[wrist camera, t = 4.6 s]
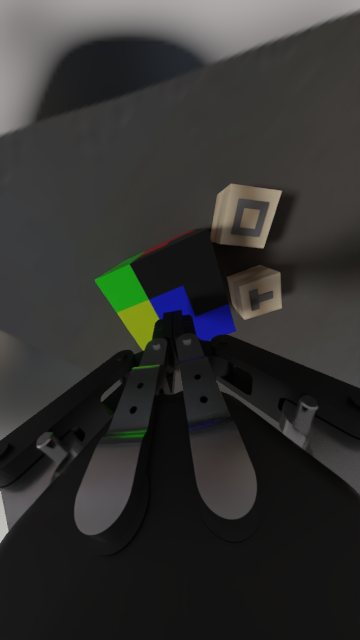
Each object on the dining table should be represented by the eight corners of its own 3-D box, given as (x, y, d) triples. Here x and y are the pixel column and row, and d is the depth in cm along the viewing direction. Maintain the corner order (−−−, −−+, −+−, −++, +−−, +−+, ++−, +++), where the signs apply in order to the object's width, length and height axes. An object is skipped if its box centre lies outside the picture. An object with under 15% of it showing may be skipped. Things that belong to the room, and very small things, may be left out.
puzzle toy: (213, 296, 25) (236, 331, 17) (156, 318, 27) (149, 361, 18) (192, 229, 21) (208, 228, 12) (124, 260, 22) (94, 280, 13)
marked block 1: (257, 199, 19) (283, 190, 15) (245, 244, 22) (264, 248, 17) (217, 194, 19) (232, 183, 14) (209, 241, 21) (220, 244, 17)
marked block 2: (259, 264, 23) (281, 272, 19) (262, 295, 26) (282, 308, 21) (226, 276, 24) (239, 287, 19) (232, 305, 26) (245, 320, 22)
